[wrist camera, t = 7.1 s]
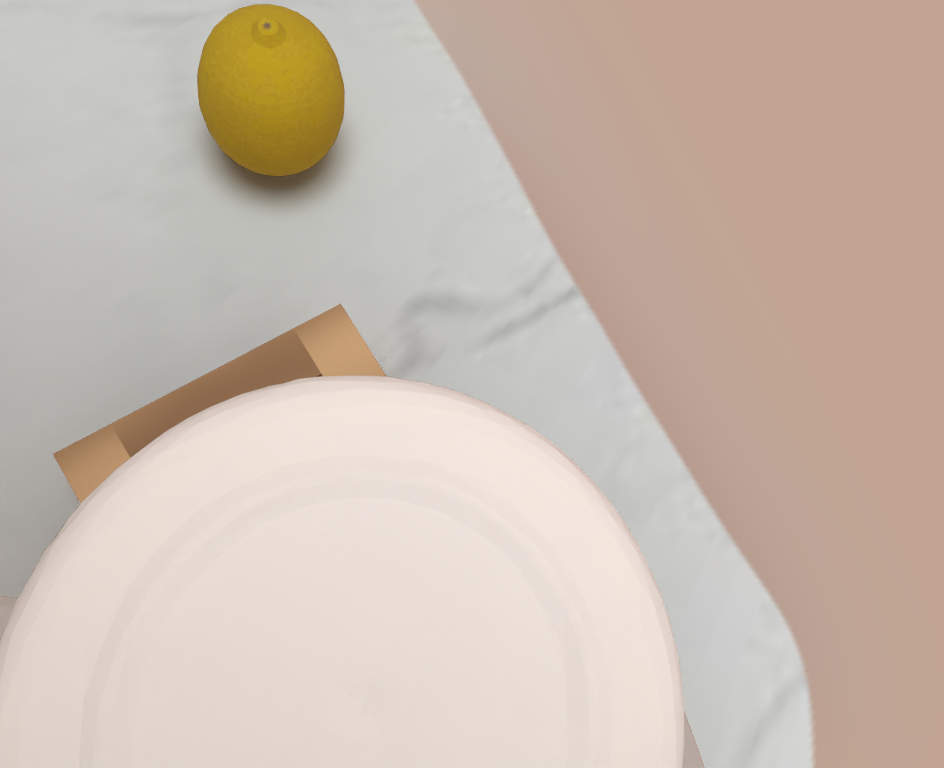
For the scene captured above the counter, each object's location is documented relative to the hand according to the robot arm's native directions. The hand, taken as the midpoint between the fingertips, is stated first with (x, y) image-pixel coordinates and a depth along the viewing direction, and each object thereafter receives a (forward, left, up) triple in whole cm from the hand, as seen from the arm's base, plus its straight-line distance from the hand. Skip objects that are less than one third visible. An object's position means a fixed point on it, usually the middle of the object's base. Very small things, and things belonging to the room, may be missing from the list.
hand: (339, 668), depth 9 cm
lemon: (-18, +8, -22) cm, 30 cm away
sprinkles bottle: (0, 0, -9) cm, 9 cm away
